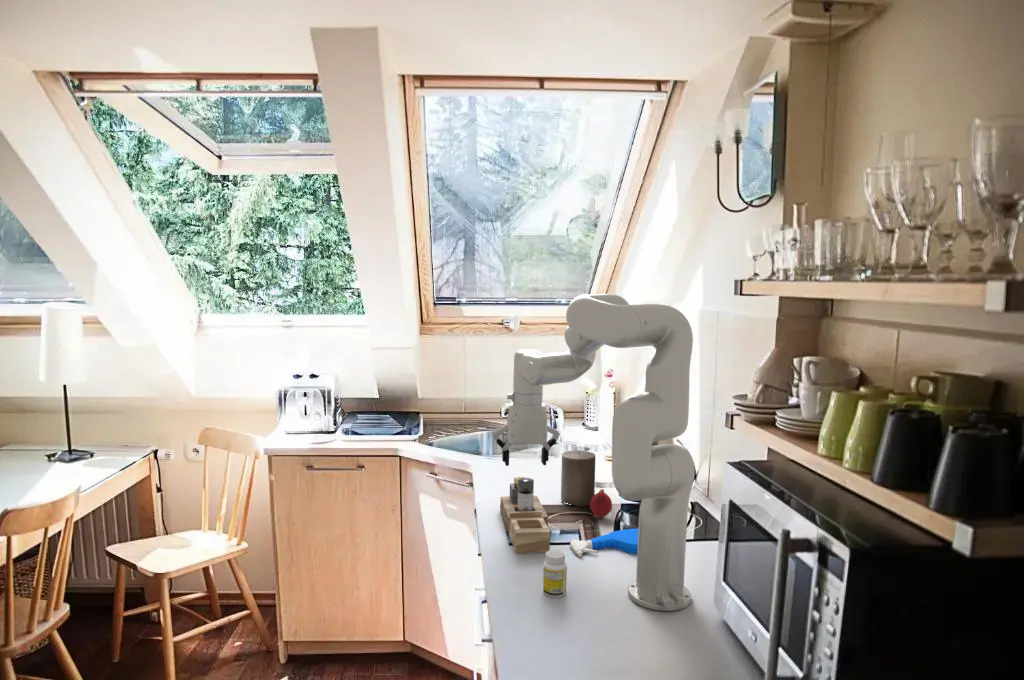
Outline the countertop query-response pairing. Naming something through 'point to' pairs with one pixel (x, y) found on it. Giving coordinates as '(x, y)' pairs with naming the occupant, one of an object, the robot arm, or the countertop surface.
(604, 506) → the onion
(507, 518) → the socket block
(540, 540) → the frame
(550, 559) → the supplement bottle
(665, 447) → the robot arm
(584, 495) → the pillar candle
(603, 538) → the spray bottle
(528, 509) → the capped metal cylinder
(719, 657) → the countertop surface
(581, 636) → the countertop surface
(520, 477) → the round brass peg
